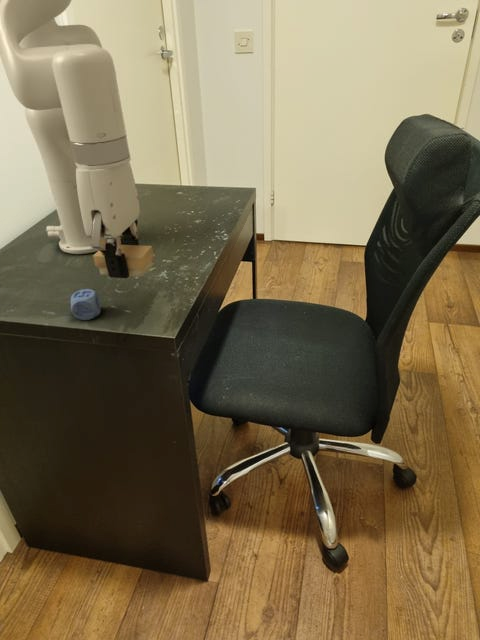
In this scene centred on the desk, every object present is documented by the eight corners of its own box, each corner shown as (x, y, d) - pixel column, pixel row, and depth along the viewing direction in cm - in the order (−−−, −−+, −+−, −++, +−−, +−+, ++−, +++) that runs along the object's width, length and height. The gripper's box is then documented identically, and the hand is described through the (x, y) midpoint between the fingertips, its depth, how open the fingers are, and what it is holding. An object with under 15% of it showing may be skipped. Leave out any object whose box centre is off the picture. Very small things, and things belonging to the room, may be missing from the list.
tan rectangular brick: (97, 275, 74) (92, 255, 72) (109, 262, 77) (105, 243, 76) (144, 278, 72) (141, 258, 70) (155, 265, 76) (151, 245, 74)
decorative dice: (98, 319, 81) (92, 299, 79) (74, 321, 81) (68, 301, 78) (101, 307, 84) (96, 287, 82) (79, 309, 84) (73, 289, 82)
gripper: (104, 137, 72) (126, 246, 82) (43, 168, 59) (79, 294, 69) (149, 137, 71) (166, 248, 81) (98, 169, 57) (126, 297, 67)
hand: (126, 268), depth 75 cm, fingers closed on tan rectangular brick, 4 cm apart
